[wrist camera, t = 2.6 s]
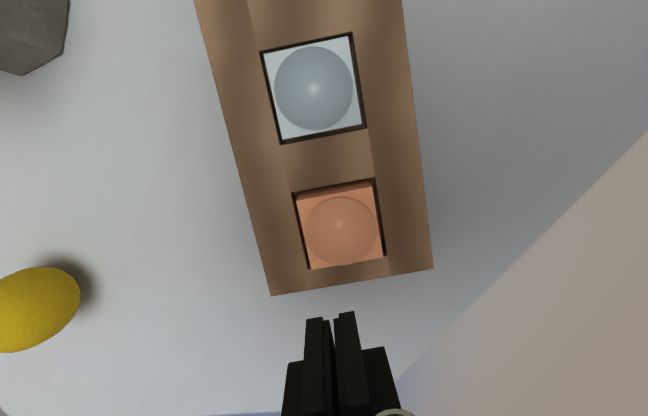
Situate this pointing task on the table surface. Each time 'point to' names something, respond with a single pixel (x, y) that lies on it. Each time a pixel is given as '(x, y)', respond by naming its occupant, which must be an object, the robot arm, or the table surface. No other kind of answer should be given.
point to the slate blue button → (313, 87)
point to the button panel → (323, 147)
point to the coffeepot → (31, 33)
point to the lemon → (35, 306)
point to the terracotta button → (340, 224)
